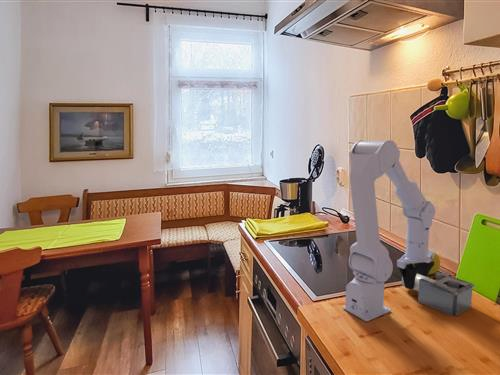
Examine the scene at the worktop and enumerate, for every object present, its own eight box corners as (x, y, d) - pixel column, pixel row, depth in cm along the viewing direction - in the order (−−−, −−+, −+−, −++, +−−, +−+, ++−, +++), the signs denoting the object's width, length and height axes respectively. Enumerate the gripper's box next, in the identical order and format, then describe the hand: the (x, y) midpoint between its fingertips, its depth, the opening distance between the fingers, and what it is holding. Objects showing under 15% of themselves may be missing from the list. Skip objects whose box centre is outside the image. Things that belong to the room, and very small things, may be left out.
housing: (472, 307, 87) (474, 284, 86) (453, 317, 83) (455, 293, 82) (436, 293, 95) (438, 271, 94) (417, 301, 91) (419, 279, 90)
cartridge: (445, 297, 91) (446, 280, 90) (434, 302, 89) (436, 284, 88) (411, 284, 100) (412, 268, 99) (401, 288, 97) (402, 272, 96)
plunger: (461, 290, 86) (461, 283, 86) (455, 292, 85) (455, 285, 84) (450, 286, 88) (450, 279, 88) (444, 288, 87) (444, 281, 87)
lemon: (442, 278, 104) (443, 254, 103) (423, 277, 106) (424, 253, 104) (436, 271, 110) (437, 248, 109) (418, 270, 111) (419, 247, 110)
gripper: (414, 249, 87) (412, 298, 89) (445, 240, 94) (442, 285, 96) (391, 242, 93) (389, 288, 95) (422, 234, 100) (419, 276, 102)
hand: (414, 286), depth 96 cm, fingers closed on cartridge, 5 cm apart
